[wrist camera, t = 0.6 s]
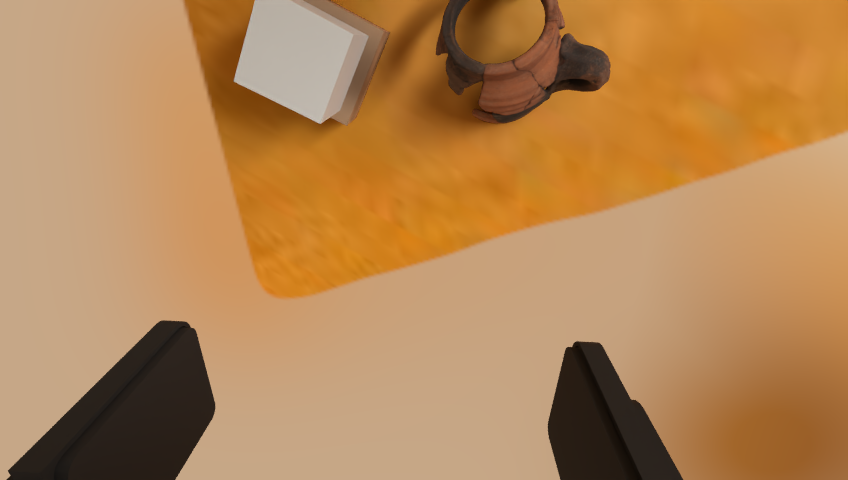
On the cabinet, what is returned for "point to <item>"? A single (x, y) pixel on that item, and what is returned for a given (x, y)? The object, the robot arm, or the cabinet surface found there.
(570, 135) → the cabinet surface
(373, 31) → the tan cardboard-coloured box
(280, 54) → the greyblue cube
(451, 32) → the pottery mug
